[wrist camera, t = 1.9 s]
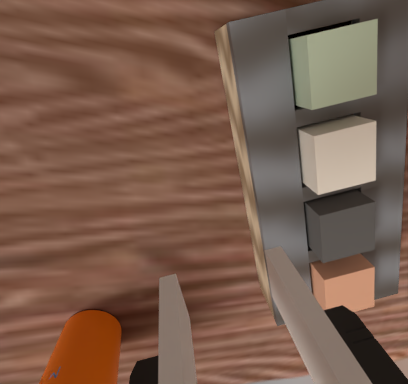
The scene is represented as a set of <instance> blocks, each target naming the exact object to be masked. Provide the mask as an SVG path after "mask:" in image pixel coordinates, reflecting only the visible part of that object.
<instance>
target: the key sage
mask: <svg viewBox="0 0 408 384" xmlns="http://www.w3.org/2000/svg"><path fill="white" fill-rule="evenodd" d="M377 34H378V19H374V20H369V21H365V22H361V23H356V24H352V25H347V26H343V27H339V28H334V29H330V30H326V31H322V32H317V33H313V34H309V35H305V36H300V37H296V38H292V39H288V43H289V53H290V64H291V75H292V85H293V96H294V105H296V106H299V107H303V108H306V109H310V110H315V109H319V108H323V107H327V106H331V105H335V104H339V103H343V102H347V101H351V100H356V99H360V98H364V97H368V96H372V95H376V94H377Z"/></svg>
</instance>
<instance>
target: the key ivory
mask: <svg viewBox="0 0 408 384" xmlns="http://www.w3.org/2000/svg"><path fill="white" fill-rule="evenodd" d="M297 139H298V150H299V160H300V171H301V182H303V183H304V184H305V185H306V186H308V187H309V188H310V189H311V190H312V191H314V192H315V193H316V194H317V195H321V194H324V193H328V192H332V191H336V190H340V189H344V188H348V187H352V186H356V185H360V184H364V183H368V182H371V181H375V180H376V121H375V120H371V119H367V118H363V117H359V116H355V115H351V114H349V115H345V116H341V117H337V118H333V119H329V120H325V121H321V122H317V123H313V124H309V125H305V126H301V127H297Z"/></svg>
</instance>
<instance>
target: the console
mask: <svg viewBox="0 0 408 384" xmlns="http://www.w3.org/2000/svg"><path fill="white" fill-rule="evenodd" d="M374 19H378V34H377V94H376V95H372V96H368V97H364V98H360V99H356V100H351V101H347V102H343V103H339V104H335V105H331V106H327V107H323V108H319V109H315V110H310V109H306V108H303V107H297V108H295V107H294V96H293V85H292V75H291V64H290V53H289V43H288V35H291V34H295V33H299V32H303V31H308V30H312V29H316V28H320V27H325V26H329V25H333V24H337V23H342V22H346V21H350V20H351V25H352V24H356V23H361V22H365V21H369V20H374ZM214 33H215V38H216V44H217V49H218V55H219V61H220V66H221V72H222V77H223V83H224V89H225V94H226V100H227V105H228V111H229V116H230V122H231V128H232V133H233V139H234V144H235V150H236V155H237V161H238V167H239V172H240V178H241V183H242V189H243V195H244V200H245V206H246V211H247V217H248V222H249V228H250V234H251V239H252V245H253V250H254V256H255V262H256V267H257V273H258V278H259V284H260V288H261V290H262V292H263V295H264V297H265V299H266V301H267V303H268V306H269V308H270V310H271V312H272V315H273V317H274V319H275V321H276V324H277V326H279V325H282V324H285V322H284V320H283V318H282V316H281V314H280V312H279V310H278V308H277V306H276V303H275V301H274V299H273V297H272V293H271V287H270V280H269V274H268V268H267V262H266V256H265V250H268V249H272V248H276V247H280V246H281V247H282V249H283V250H284V252H285V253H286V255H287V256H288V258H289V259H290V261H291V262H292V264H293V265H294V267H295V268H296V270H297V271H298V273H299V274H300V276H301V277H302V279H303V280H304V282H305V283H306V285H307V286H308V288H309V289H310V291H311V292H312V289H311V278H310V267H309V263H311V262H315V261H318V260H320V259H319V258H318V257H317V255H316V254H315V253H314V252H313V251H312V249H311V248H310V247H309V246H308V245H307V235H306V225H305V214H304V203H303V202H305V201H309V200H313V199H317V198H321V197H325V196H328V195H332V194H336V193H340V192H344V191H348V190H352V189H356V190H358V191H359V192H361V193H362V194H364V195H366V196H367V197H369V198H370V199H372V200H374V201H375V250H371V251H368V252H364V253H360V254H361V255H362V256H364V257H365V258H366V259H367V260H368V261H369V262H370V263H371V264H372V265H373V266H374V267H375V281H374V300H375V299H379V298H382V297H386V296H390V295H394V294H397V293H398V284H399V264H400V245H401V226H402V207H403V188H404V169H405V149H406V130H407V111H408V0H322V1H318V2H314V3H310V4H305V5H301V6H297V7H292V8H288V9H284V10H279V11H275V12H271V13H266V14H262V15H258V16H254V17H249V18H245V19H241V20H236V21H232V22H228V23H227V24H225V25H224V26H222V27H221V28H219V29H218V30H216V31H215V32H214ZM349 114H353V115H355V116H359V117H363V118H367V119H371V120H375V121H376V180H375V181H371V182H368V183H364V184H360V185H356V186H352V187H348V188H344V189H340V190H336V191H332V192H328V193H324V194H321V195H317V194H316V193H315V192H314V191H312V190H311V189H310V188H309V187H308V186H306V185H305V184H304V183H302V182H301V171H300V160H299V150H298V139H297V127H301V126H305V125H309V124H313V123H317V122H321V121H325V120H329V119H333V118H337V117H341V116H345V115H349Z"/></svg>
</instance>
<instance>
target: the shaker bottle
mask: <svg viewBox="0 0 408 384" xmlns="http://www.w3.org/2000/svg"><path fill="white" fill-rule="evenodd" d="M121 334H122V330H121V326H120V323H119V322H118V320H117V319H116V318H115V317H114V316H112V315H111V314H109V313H107V312H104V311H100V310H86V311H82V312H79V313H77V314H75V315H73V316H72V317H71V318H70V319H69V320H68V321H67V322H66V324H65V326H64V328H63V330H62V333H61V335H60V337H59V340H58V342H57V344H56V346H55V349H54V351H53V353H52V355H51V358H50V360H49V362H48V364H47V367H46V369H45V371H44V374H43V376H42V378H41V380H40V383H39V384H117V377H118V367H119V356H120V345H121Z"/></svg>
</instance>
